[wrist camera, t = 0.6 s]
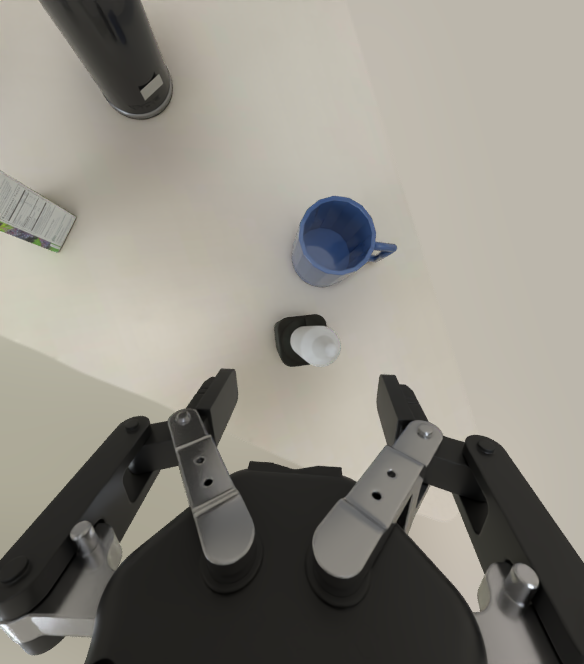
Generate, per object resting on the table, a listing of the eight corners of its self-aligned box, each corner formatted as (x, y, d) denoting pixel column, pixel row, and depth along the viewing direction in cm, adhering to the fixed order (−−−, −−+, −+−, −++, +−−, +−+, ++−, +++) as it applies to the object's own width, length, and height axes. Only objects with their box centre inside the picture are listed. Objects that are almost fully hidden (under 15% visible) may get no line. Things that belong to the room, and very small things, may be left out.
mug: (289, 283, 40) (295, 270, 31) (294, 223, 40) (303, 191, 31) (370, 292, 42) (400, 281, 32) (375, 233, 42) (407, 205, 32)
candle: (307, 317, 41) (370, 301, 16) (311, 351, 41) (379, 388, 16) (273, 321, 40) (283, 311, 15) (277, 355, 40) (294, 400, 16)
